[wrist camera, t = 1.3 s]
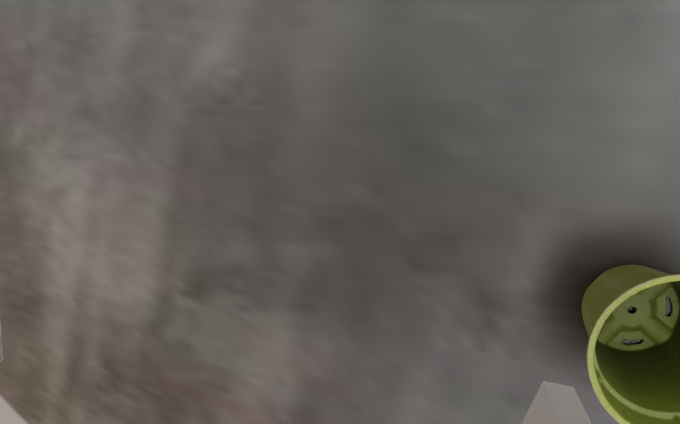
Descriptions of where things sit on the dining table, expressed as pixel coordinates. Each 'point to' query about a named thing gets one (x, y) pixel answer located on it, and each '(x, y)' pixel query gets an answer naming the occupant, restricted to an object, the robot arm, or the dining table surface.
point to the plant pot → (639, 359)
